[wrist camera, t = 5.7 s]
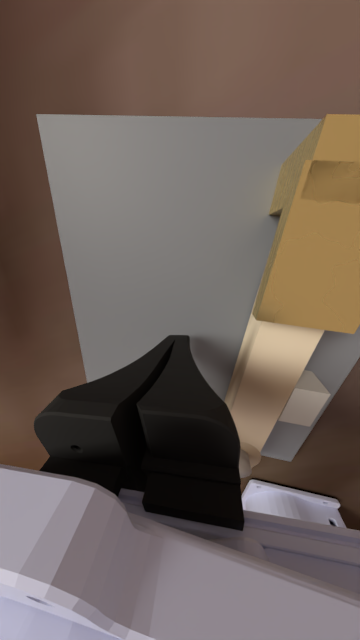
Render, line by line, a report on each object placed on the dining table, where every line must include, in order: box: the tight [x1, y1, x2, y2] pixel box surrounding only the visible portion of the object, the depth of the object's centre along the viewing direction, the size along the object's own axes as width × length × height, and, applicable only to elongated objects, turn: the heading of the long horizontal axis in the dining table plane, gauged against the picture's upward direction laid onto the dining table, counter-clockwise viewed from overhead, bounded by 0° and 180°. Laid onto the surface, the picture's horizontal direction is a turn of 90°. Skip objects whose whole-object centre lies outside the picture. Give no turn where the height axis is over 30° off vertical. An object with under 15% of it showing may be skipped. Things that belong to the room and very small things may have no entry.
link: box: [224, 253, 325, 478], centre depth 11 cm, size 17×4×3 cm, turn 174°
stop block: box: [278, 370, 331, 427], centre depth 12 cm, size 2×3×2 cm, turn 175°
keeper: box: [252, 114, 360, 334], centre depth 7 cm, size 4×6×3 cm, turn 175°
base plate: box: [36, 114, 360, 462], centre depth 13 cm, size 20×23×1 cm
